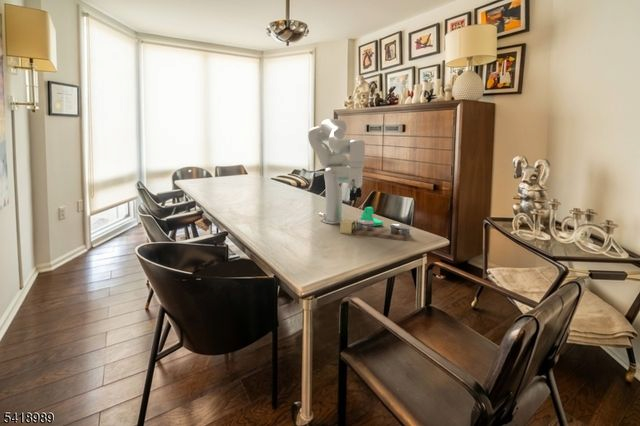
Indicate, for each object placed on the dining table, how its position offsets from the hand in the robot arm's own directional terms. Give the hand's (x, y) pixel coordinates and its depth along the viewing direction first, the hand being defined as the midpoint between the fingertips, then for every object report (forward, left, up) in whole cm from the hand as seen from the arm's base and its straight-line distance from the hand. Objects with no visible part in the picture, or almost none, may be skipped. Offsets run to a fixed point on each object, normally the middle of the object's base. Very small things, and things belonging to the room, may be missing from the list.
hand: (355, 198), depth 182 cm
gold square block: (-3, -2, -18) cm, 18 cm away
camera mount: (+4, +19, -18) cm, 26 cm away
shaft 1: (+5, +2, -16) cm, 17 cm away
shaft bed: (+14, +2, -18) cm, 23 cm away
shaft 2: (+23, +2, -16) cm, 28 cm away
